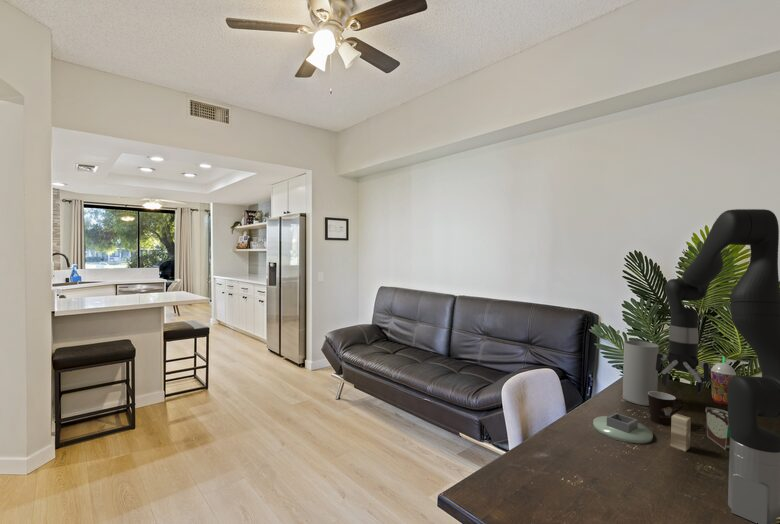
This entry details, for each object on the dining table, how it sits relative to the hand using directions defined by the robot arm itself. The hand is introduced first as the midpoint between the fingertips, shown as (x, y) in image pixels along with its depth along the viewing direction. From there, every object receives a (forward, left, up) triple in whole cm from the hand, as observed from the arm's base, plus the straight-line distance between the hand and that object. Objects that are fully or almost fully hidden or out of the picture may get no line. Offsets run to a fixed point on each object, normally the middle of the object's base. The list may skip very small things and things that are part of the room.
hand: (681, 389), depth 122 cm
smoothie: (+63, +4, -19) cm, 66 cm away
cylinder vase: (+34, +25, -19) cm, 46 cm away
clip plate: (-4, +16, -19) cm, 25 cm away
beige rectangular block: (0, 0, -19) cm, 19 cm away
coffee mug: (+18, +10, -19) cm, 28 cm away
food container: (+16, -8, -19) cm, 26 cm away
